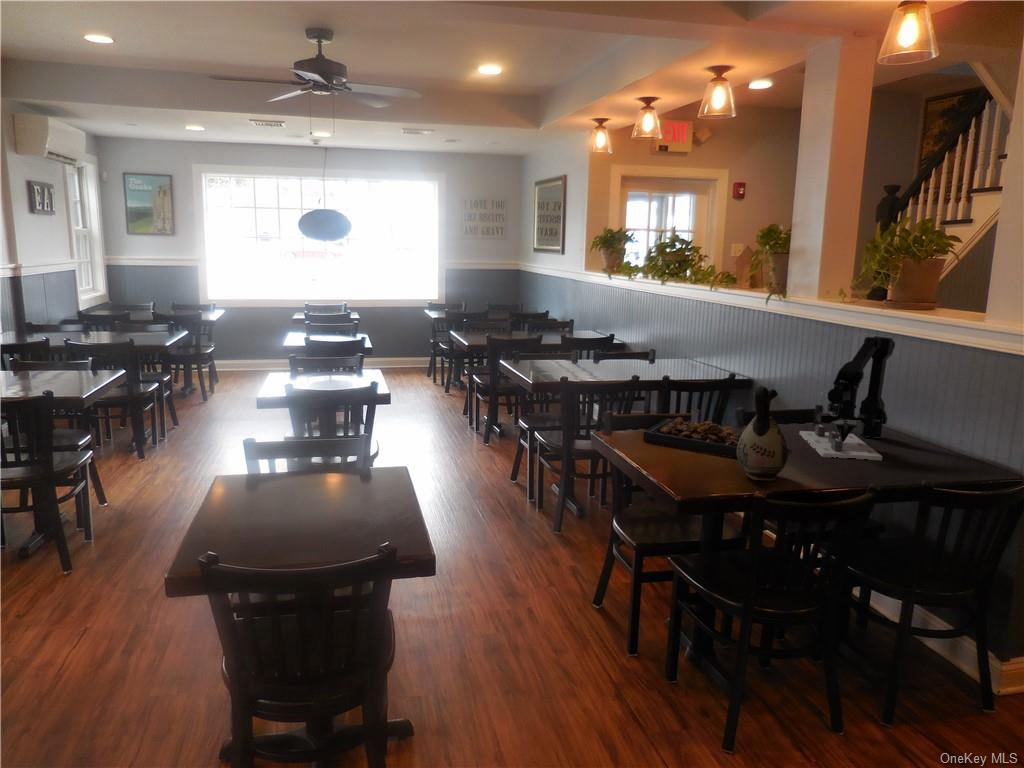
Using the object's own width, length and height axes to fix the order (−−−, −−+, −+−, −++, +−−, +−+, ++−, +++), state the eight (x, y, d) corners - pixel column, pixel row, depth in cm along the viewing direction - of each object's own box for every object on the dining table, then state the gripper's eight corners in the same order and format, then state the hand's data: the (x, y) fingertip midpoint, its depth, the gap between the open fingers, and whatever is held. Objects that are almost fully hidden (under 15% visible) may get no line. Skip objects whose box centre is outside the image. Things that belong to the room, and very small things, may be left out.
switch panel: (852, 437, 280) (852, 433, 280) (881, 460, 251) (882, 456, 251) (799, 434, 283) (799, 430, 282) (822, 456, 253) (823, 452, 253)
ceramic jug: (745, 466, 240) (753, 378, 234) (791, 476, 231) (802, 385, 225) (724, 478, 227) (733, 386, 221) (773, 489, 218) (783, 393, 212)
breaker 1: (821, 433, 279) (822, 424, 278) (824, 436, 275) (825, 427, 274) (814, 433, 279) (815, 424, 278) (817, 435, 275) (818, 426, 274)
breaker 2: (838, 448, 259) (839, 438, 258) (841, 451, 255) (843, 441, 254) (830, 447, 259) (832, 438, 259) (834, 450, 255) (835, 441, 255)
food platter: (782, 449, 264) (785, 422, 262) (767, 465, 244) (770, 436, 241) (665, 429, 287) (667, 404, 285) (643, 443, 267) (644, 416, 264)
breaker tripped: (834, 440, 269) (836, 431, 268) (838, 443, 265) (839, 434, 264) (828, 440, 269) (829, 431, 268) (831, 443, 265) (832, 434, 264)
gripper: (865, 397, 270) (860, 437, 273) (814, 394, 272) (809, 434, 275) (877, 404, 259) (871, 445, 262) (823, 401, 261) (818, 442, 264)
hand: (842, 441), depth 266 cm, fingers closed
